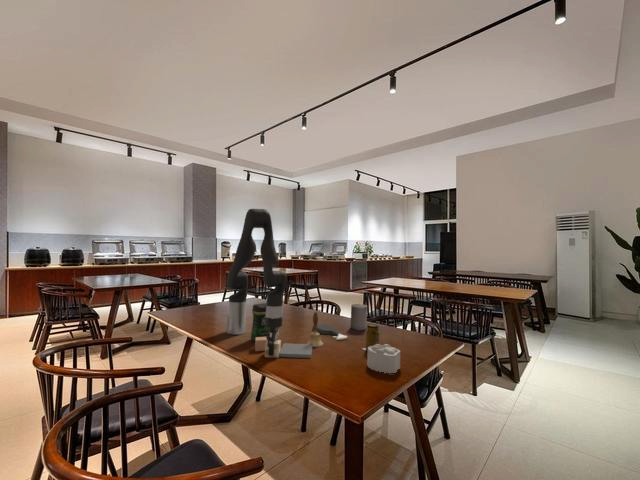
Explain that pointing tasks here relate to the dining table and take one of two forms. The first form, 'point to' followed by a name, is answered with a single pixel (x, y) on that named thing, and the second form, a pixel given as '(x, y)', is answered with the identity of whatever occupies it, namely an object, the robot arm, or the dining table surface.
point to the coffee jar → (259, 321)
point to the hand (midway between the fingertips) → (273, 351)
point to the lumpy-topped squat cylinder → (383, 358)
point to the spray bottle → (329, 331)
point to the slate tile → (296, 350)
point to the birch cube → (276, 349)
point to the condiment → (371, 336)
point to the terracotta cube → (260, 343)
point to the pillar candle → (358, 316)
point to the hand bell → (315, 333)
